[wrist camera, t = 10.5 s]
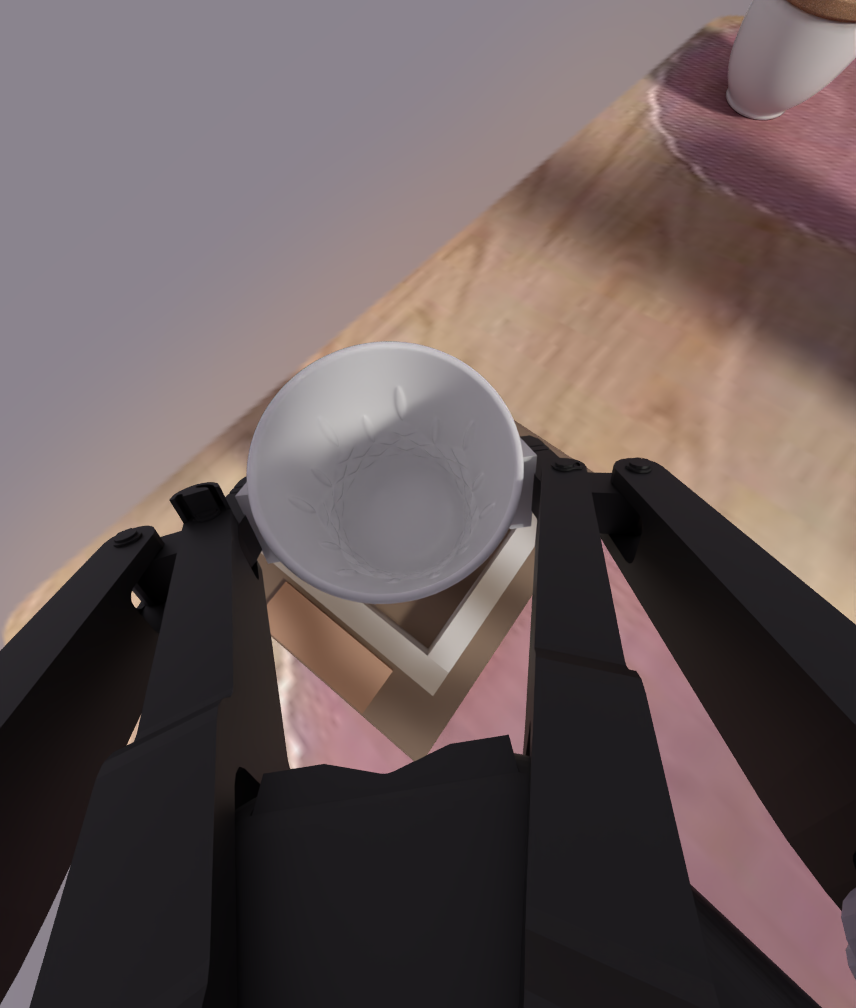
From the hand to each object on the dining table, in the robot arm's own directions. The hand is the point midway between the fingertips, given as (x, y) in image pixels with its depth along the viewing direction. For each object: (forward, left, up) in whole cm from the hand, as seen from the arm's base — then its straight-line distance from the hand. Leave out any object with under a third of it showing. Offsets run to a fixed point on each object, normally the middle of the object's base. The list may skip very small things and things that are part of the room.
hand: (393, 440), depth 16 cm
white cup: (+2, +2, -4) cm, 5 cm away
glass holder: (+2, +2, -9) cm, 9 cm away
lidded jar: (-54, +3, -9) cm, 55 cm away
